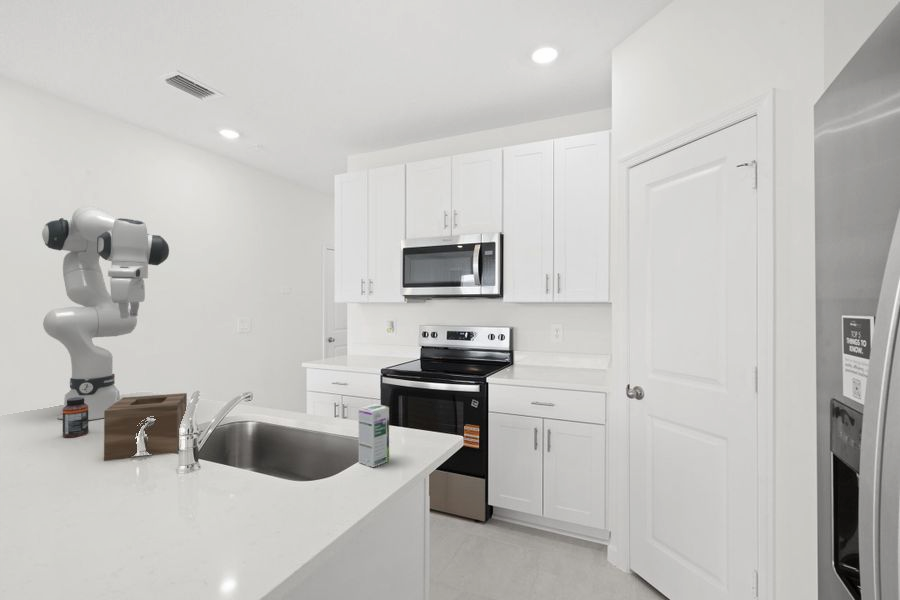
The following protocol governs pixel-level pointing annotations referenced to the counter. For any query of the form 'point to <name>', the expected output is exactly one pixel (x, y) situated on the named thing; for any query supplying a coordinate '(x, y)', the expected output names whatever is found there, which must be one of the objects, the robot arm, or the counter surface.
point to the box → (131, 412)
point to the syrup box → (373, 435)
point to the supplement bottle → (75, 417)
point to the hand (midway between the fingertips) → (129, 317)
